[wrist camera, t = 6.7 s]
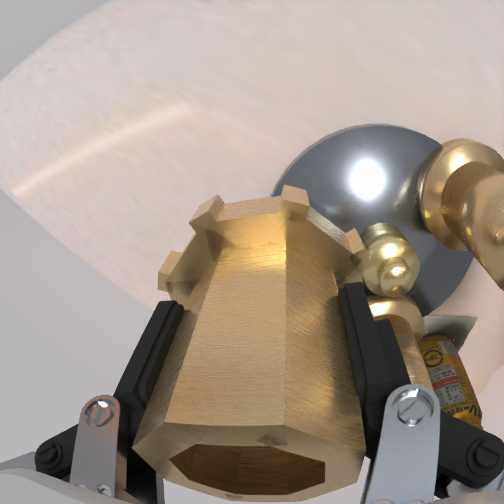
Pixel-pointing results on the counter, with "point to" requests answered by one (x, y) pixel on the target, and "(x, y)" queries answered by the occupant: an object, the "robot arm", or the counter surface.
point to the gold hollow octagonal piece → (258, 356)
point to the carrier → (408, 217)
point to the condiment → (450, 366)
